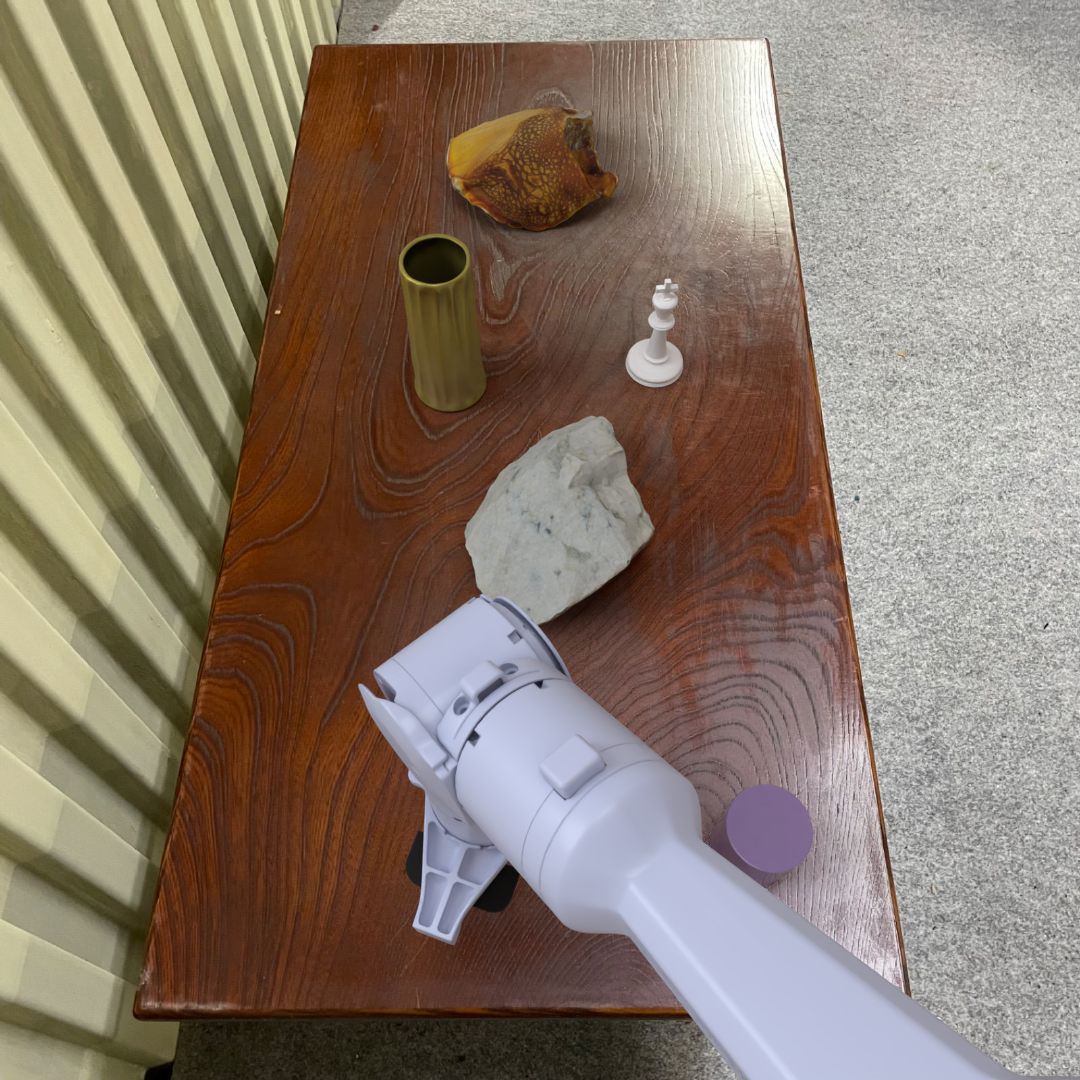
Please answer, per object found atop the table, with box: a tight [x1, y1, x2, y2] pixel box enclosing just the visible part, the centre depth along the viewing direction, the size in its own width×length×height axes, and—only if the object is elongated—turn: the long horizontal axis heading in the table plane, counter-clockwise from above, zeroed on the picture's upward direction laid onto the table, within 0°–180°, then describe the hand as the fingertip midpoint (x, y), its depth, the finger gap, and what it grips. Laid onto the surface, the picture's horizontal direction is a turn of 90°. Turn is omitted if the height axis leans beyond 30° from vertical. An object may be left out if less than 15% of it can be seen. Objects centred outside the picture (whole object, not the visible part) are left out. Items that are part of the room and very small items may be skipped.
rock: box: [464, 415, 656, 628], centre depth 69 cm, size 15×16×8 cm
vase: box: [398, 233, 488, 413], centre depth 74 cm, size 6×6×14 cm
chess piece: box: [625, 278, 684, 388], centre depth 76 cm, size 5×5×10 cm
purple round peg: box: [709, 783, 814, 888], centre depth 59 cm, size 5×5×6 cm
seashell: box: [445, 104, 620, 232], centre depth 89 cm, size 17×8×15 cm
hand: (494, 825), depth 55 cm, fingers closed on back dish, 5 cm apart
